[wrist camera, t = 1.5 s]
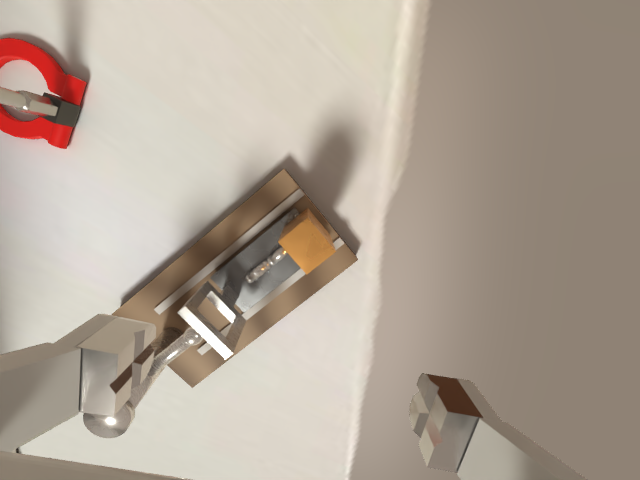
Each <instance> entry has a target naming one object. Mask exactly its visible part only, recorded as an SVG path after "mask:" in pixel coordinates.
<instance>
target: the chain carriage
mask: <svg viewBox="0 0 640 480" xmlns="http://www.w3.org/2000/svg"><path fill="white" fill-rule="evenodd" d="M335 252H336V250H335V247H334V244H333V241H332V238H331V235H330V234H329V233H328V232H327V230H326V229H325V228H324V227H323V226H322V224H321V223H320V222H319V221H318V220H317V218H316V217H315V216H314V215H313V213H312V212H311V211H310V210H309V209H308V208H307V209H305V210H304V211H303V212H302V213H300V212H299V211H298V210H297V209H296V207H294V208H293V209H292V210H291V211H289V212H288V213H287V214H286V215H285V216H283V217H282V218H281V219H280V220H278V221H277V222H276V223H275V224H274V225H272V226H271V227H270V228H269V229H268V230H266V231H265V232H264V233H263V234H261V235H260V236H259V237H258V238H257V239H255V240H254V241H253V242H252V243H250V244H249V245H248V246H247V247H246V248H244V249H243V250H242V251H241V252H240V253H238V254H237V255H236V256H235V257H233V258H232V259H231V260H230V261H229V262H227V263H226V264H225V265H224V266H223V267H221V268H220V269H219V270H218V271H216V272H215V273H214V274H213V275H212V276H211V277H210V278H211V279H212V280H213V281H214V282H215V283H216V284H217V286H218V287H219V288H220V289H221V290H222V291H221V292H220V293H219V292H218V291H217V290H216V289H215V288H214V287H213V286H212V285H211V284H210V283H209V281H207V282H206V283H204V284H203V285H202V286H201V287H200V288H199V289H198V290H197V291H196V292H195V294H194V295H193V296H192V297H191V298H190V299H189V300H188V301H187V302H186V303H185V305H184V306H183V307H182V308H181V309H180V310H179V311H178V312H177V313H178V314H179V315H180V316H181V317H182V318H183V319H184V320H185V321H186V322H187V323H188V324H189V325H190V326H192V327H193V328H194V329H195V330H196V331H197V332H198V333H199V334H200V335H201V336H202V337H203V338H204V339H205V340H206V341H207V342H208V343H209V344H210V345H211V346H212V347H213V348H214V349H215V350H216V351H217V352H219V353H220V354H221V355H222V356H223V357H224V358H225V359H227V358H228V357H229V356H230V355H232V354H233V353H234V350H235V348H236V345H237V343H238V340H239V338H240V335H241V333H242V330H243V328H244V325H245V323H246V319H245V318H244V317H243V316H242V315H241V314H240V313H239V312H238V311H237V310H236V309H235V308H234V305H235V304H236V305H237V306H238V307H239V308H240V309H241V310H242V311H243V312H244V313H245V312H246V311H247V310H248V309H250V308H251V307H252V306H253V305H255V304H256V303H257V302H258V301H260V300H261V299H262V298H264V297H265V296H266V295H267V294H269V293H270V292H271V291H272V290H274V289H275V288H276V287H277V286H279V285H280V284H281V283H282V282H284V281H285V280H286V279H288V278H289V277H290V276H291V275H293V274H294V273H295V272H296V271H298V270H299V269H300V268H301V269H302V270H303V271H304V272H305V273H306V275H307V274H308V273H310V272H311V271H312V270H313V269H315V268H316V267H317V266H319V265H320V264H321V263H322V262H324V261H325V260H326V259H327V258H329V257H330V256H331V255H333V254H334V253H335ZM205 298H207V299H208V300H209V301H210V302H211V303H212V304H213V305H214V306H215V307H216V308H217V309H218V310H219V311H220V312H221V313H222V314H223V315H224V316H225V317H226V318H227V319H228V320H229V321H230V322H231V323H232V325H231V327H230V330H229V332H228V334H227V336H226V337H225V336H224V335H223V334H221V333H220V332H219V331H218V330H217V329H216V328H215V327H214V326H213V325H212V324H211V323H210V322H209V321H208V320H207V319H206V318H205V317H204V316H203V315H202V314H201V313H200V312H199V311H198V310H197V308H198V306H199V305H200V304H201V303H202V301H203V300H204V299H205Z"/></svg>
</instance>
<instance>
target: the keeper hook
mask: <svg viewBox="0 0 640 480" xmlns="http://www.w3.org/2000/svg"><path fill="white" fill-rule="evenodd" d="M202 340H203V337H202V336H201V335H200V334H199V333H198V332H197V331H196V330H195V329H194V328H193V327H192V326H191V327H189V328H187V329H186V331H185V332H184V334H183V332H182V331H181V330H180V329H178V328H176V327H168V328H166V329H165V330H164V331H163V332H162V333H161V334H160V335H159V336H158V337H157V339H156V340H155V341H154V342H153V343H152V344H151V346H152V348H153V350H154V358H153V362H152V366H151V368H150V370H149V372H148V374H147V376H146V378H145V379H144V380H143V382H142V383H141V384H140V385H139V386H136V387H134V388H132V389H131V394H130V398H129V399H128V400H127V401H126V403H125V404H124V405H123V406H122V408H121V409H120V410H119V411H118V412H117V414H116V415H115V416H106V415H98V414H90V413H84V415H83V420H84V424H85V426H86V427H87V429H88V430H89V431H90V432H92V433H93V434H95V435H97V436H99V437H103V438H114V437H118V436H120V435H122V434H123V433H124V432H125V431H126V430H127V428H128V427H129V426H130V424H131V423H132V421H133V420H134V417H135V408H136V407H137V405H138V404H139V402H140V401H141V400H142V398H143V397H144V395H145V394H146V393H147V391H148V390H149V389H150V387H151V386H152V384H153V383H154V382H155V380H156V379H157V377H158V376H159V375H160V373H161V372H162V370H163V369H164V368H165V366H166V365H168V364H169V363H170V362H171V361H173V360H174V359H175V358H176V357H178V356H179V355H180V354H181V353H183V352H184V351H185V350H186V349H188V348H189V347H190V346H191V345H197V344H199V343H200V342H201V341H202Z"/></svg>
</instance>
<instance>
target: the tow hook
mask: <svg viewBox="0 0 640 480" xmlns="http://www.w3.org/2000/svg"><path fill="white" fill-rule="evenodd" d="M18 59H21V60H27V61H29V62H30V63H32V64H33V65H34V66H36V67H37V68H38V70H39V71H40V72H41V73H42V75H43V76H44V78H45V80H46V82H47V86H48V89H49V90H50V91H51V92H53V93H55V94H57V95H59V96H61V97H58V96H55V95H51V94H48V93H44V94H43V96H41V95H37V94H34V93H31V92H27V91H13V90H9V89H6V88H2V87H0V130H2V131H3V132H5V133H8V134H10V135H12V136H15V137H21V138H27V139H40V138H44V139H46V140H48V143H49V144H51V145H53V146H56V147H59V148H63V149H66V148H67V145H68V142H69V139H70V135H71V132H72V129H73V127H75V124H76V121H77V118H78V114H79V111H80V108H81V106H80V103H81V100H82V96H83V93H84V90H85V87H86V82H85V81H83V80H82V79H80V78H78V77H76V76H73V75H70V74H68V75H66V74H64V72H63V71H62V69H61V67H60V66H59V65H58V63H57V62H56V61H55V60H54V59H53V57H52V56H50V55H49V54H48V53H46V52H45V51H44V50H42V49H41V48H39V47H37V46H35V45H32V44H30V43H28V42H26V41H23V40H19V39H13V38H5V39H0V68H1V67H2V66H3V65H4V64H5V63H7V62H9V61H11V60H18ZM1 104H4V105H8V106H12V107H15V108H16V109H17V110H19V111H21V112H26V113H30V114H35V115H38V116H40V117H39V118H37V119H34V120H32V121H25V122H23V121H20V120H18V119H15V118H14V117H12V116H11V115H10V114H8V113H7V112H6V110H5V109H4V108H3V107H2V105H1Z"/></svg>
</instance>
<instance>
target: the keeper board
mask: <svg viewBox="0 0 640 480" xmlns="http://www.w3.org/2000/svg"><path fill="white" fill-rule="evenodd" d="M294 207H296V209H297V210H298V211H299V212H300V213H302V212H303V211H304V210H305V209H307V208H308V209H309V210H310V211H311V212H312V213H313V215H314V216H315V217H316V218H317V220H318V221H319V222H320V223H321V224H322V226H323V227H324V228H325V229H326V230H327V232H328V233H329V234H330V235H331V238H332V241H333V244H334V247H335V250H336V252H335V253H334V254H333V255H331V256H330V257H329V258H327V259H326V260H325V261H324V262H322V263H321V264H320V265H319V266H317V267H316V268H315V269H313V270H312V271H311V272H310V273H308V274H307V275H306V273H305V272H304V271H303V270H302V269H301V268H300V269H299V270H298V271H296V272H295V273H294V274H293V275H291V276H290V277H289V278H288V279H286V280H285V281H284V282H282V283H281V284H280V285H279V286H277V287H276V288H275V289H274V290H272V291H271V292H270V293H269V294H267V295H266V296H265V297H264V298H262V299H261V300H260V301H258V302H257V303H256V304H255V305H253V306H252V307H251V308H250V309H248V310H247V311H246V312H245V313H244V312H243V311H242V310H241V309H240V308H239V307H238V306H237V305H236V304H235V305H234V308H235V309H236V310H237V311H238V312H239V313H240V314H241V315H242V316H243V317H244V318H245V319H246V323H245V325H244V328H243V330H242V333H241V335H240V338H239V340H238V343H237V345H236V348H235V350H234V353H233V354H232V355H230V356H229V357H228V358H227V359H225V358H224V357H223V356H222V355H221V354H220V353H219V352H217V351H216V350H215V349H214V348H213V347H212V346H211V345H210V344H209V343H208V342H207V341H206V340H205V339H204V338H203V340H202V341H201V342H200V343H199V344H197V345H191V346H190V347H189V348H188V349H186V350H185V351H184V352H183V353H181V354H180V355H179V356H178V357H176V358H175V359H174V360H173V361H171V362H170V363H169V364H168V366H169V367H170V368H171V369H172V370H173V371H174V372H175V373H176V374H178V375H179V376H180V377H181V378H182V379H183V380H184V381H185V382H186V383H187V384H189V385H190V386H191V387H192V388H193V387H194V386H195V385H197V384H198V383H199V382H201V381H202V380H203V379H204V378H206V377H207V376H208V375H210V374H211V373H212V372H213V371H215V370H216V369H217V368H219V367H220V366H221V365H223V364H224V363H225V362H226V361H228V360H229V359H230V358H232V357H233V356H234V355H235V354H237V353H238V352H239V351H241V350H242V349H243V348H245V347H246V346H247V345H248V344H250V343H251V342H252V341H254V340H255V339H256V338H257V337H259V336H260V335H261V334H263V333H264V332H265V331H267V330H268V329H269V328H270V327H272V326H273V325H274V324H276V323H277V322H278V321H279V320H281V319H282V318H283V317H285V316H286V315H287V314H289V313H290V312H291V311H292V310H294V309H295V308H296V307H298V306H299V305H300V304H301V303H303V302H304V301H305V300H307V299H308V298H309V297H311V296H312V295H313V294H314V293H316V292H317V291H318V290H320V289H321V288H322V287H323V286H325V285H326V284H327V283H329V282H330V281H331V280H333V279H334V278H335V277H336V276H338V275H339V274H340V273H342V272H343V271H344V270H345V269H347V268H348V267H349V266H351V265H352V264H353V263H355V262H356V261H357V260H358V259H357V257H356V255H355V254H354V253H353V252H352V250H351V249H350V248H349V247H348V246H347V244H346V243H345V242H344V241H343V239H342V238H341V237H340V236H339V234H338V233H337V232H336V231H335V230H334V228H333V227H332V226H331V225H330V223H329V222H328V221H327V220H326V219H325V217H324V216H323V215H322V214H321V212H320V211H319V210H318V209H317V208H316V206H315V205H314V204H313V203H312V201H311V200H310V199H309V198H308V196H307V195H306V194H305V193H304V192H303V190H302V189H301V188H300V187H299V185H298V184H297V183H296V182H295V181H294V179H293V178H292V177H291V176H290V174H289V173H288V172H287V171H286V170H285V169H283V170H282V171H281V172H279V173H278V174H277V175H276V176H275V177H273V178H272V179H271V180H270V181H269V182H268V183H266V184H265V185H264V186H263V187H262V188H260V189H259V190H258V191H257V192H256V193H255V194H253V195H252V196H251V197H250V198H249V199H247V200H246V201H245V202H244V203H243V204H242V205H240V206H239V207H238V208H237V209H236V210H234V211H233V212H232V213H231V214H230V215H229V216H227V217H226V218H225V219H224V220H223V221H221V222H220V223H219V224H218V225H217V226H216V227H214V228H213V229H212V230H211V231H210V232H208V233H207V234H206V235H205V236H204V237H203V238H201V239H200V240H199V241H198V242H197V243H195V244H194V245H193V246H192V247H191V248H190V249H188V250H187V251H186V252H185V253H184V254H182V255H181V256H180V257H179V258H178V259H177V260H175V261H174V262H173V263H172V264H171V265H169V266H168V267H167V268H166V269H165V270H164V271H162V272H161V273H160V274H159V275H158V276H157V277H155V278H154V279H153V280H152V281H151V282H149V283H148V284H147V285H146V286H145V287H144V288H142V289H141V290H140V291H139V292H138V293H136V294H135V295H134V296H133V297H132V298H131V299H129V300H128V301H127V302H126V303H125V304H123V305H122V306H121V307H120V308H119V309H118V310H116V311H115V312H114V313H113V314H112V315H113V316H118V317H123V318H128V319H133V320H138V321H143V322H147V323H152V324H154V325H155V326H156V338H155V339H154V340H153V341H152V342H151V343H150V345H151V344H152V343H153V342H154V341H155V340H156V339H157V337H158V336H159V335H160V334H161V333H162V332H163V331H164V330H165V329H166V328H168V327H176V328H178V329H180V330H181V331H182V332H183V334H184V332H185V331H186V329H187V328H189V327H191V326H190V325H189V324H188V323H187V322H186V321H185V320H184V319H183V318H182V317H181V316H180V315H179V314H178V313H177V312H178V311H179V310H180V309H181V308H182V307H183V306H184V305H185V303H186V302H187V301H188V300H189V299H190V298H191V297H192V296H193V295H194V294H195V292H196V291H197V290H198V289H199V288H200V287H201V286H202V285H203V284H204V283H206V282H207V281H209V283H210V284H211V285H212V286H213V287H214V288H215V289H216V290H217V291H218V292H219V293H220V292H221V291H222V290H221V289H220V288H219V287H218V286H217V284H216V283H215V282H214V281H213V280H212V279H211V278H210V277H211V276H212V275H213V274H214V273H215V272H216V271H218V270H219V269H220V268H221V267H223V266H224V265H225V264H226V263H227V262H229V261H230V260H231V259H232V258H233V257H235V256H236V255H237V254H238V253H240V252H241V251H242V250H243V249H244V248H246V247H247V246H248V245H249V244H250V243H252V242H253V241H254V240H255V239H257V238H258V237H259V236H260V235H261V234H263V233H264V232H265V231H266V230H268V229H269V228H270V227H271V226H272V225H274V224H275V223H276V222H277V221H278V220H280V219H281V218H282V217H283V216H285V215H286V214H287V213H288V212H289V211H291V210H292V209H293V208H294ZM197 310H198V311H199V312H200V313H201V314H202V315H203V316H204V317H205V318H206V319H207V320H208V321H209V322H210V323H211V324H212V325H213V326H214V327H215V328H216V329H217V330H218V331H219V332H220V333H221V334H223V335H224V336H225V337H226V336H227V334H228V332H229V330H230V327H231V325H232V323H231V322H230V321H229V320H228V319H227V318H226V317H225V316H224V315H223V314H222V313H221V312H220V311H219V310H218V309H217V308H216V307H215V306H214V305H213V304H212V303H211V302H210V301H209V300H208V299H207V298H205V299H204V300H203V301H202V303H201V304H200V305H199V306H198V308H197Z"/></svg>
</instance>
